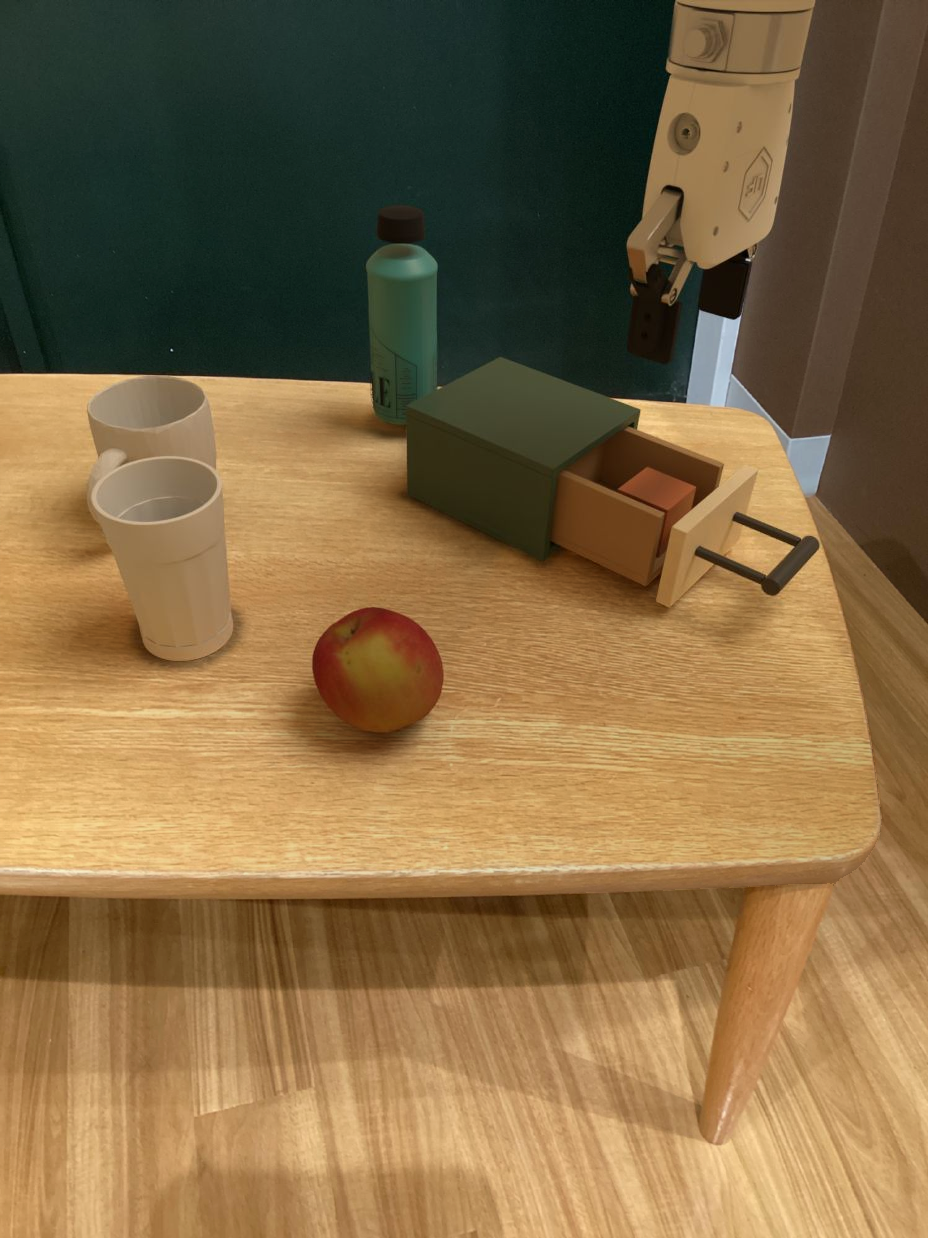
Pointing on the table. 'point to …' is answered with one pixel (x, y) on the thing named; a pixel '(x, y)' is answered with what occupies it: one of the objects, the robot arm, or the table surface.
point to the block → (661, 498)
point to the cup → (170, 552)
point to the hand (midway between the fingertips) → (685, 334)
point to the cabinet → (505, 448)
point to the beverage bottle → (401, 314)
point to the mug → (149, 424)
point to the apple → (377, 670)
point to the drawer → (632, 529)
